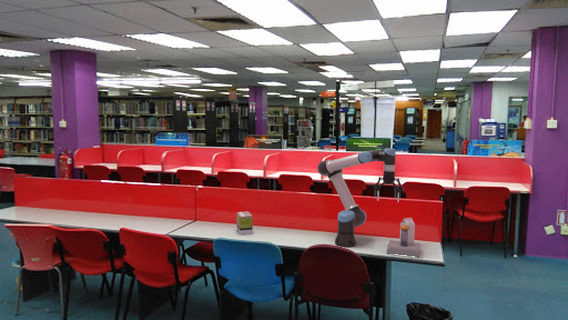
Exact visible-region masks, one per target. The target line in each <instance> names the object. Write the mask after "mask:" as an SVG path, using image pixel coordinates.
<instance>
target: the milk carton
mask: <svg viewBox="0 0 568 320" xmlns="http://www.w3.org/2000/svg"><path fill="white" fill-rule="evenodd" d="M401 225H407V226H409V227H410V229H409V230H408V242H411V243H415V234H416V233H415V231H416V224H415V222H414V220H413V217H406V218H403V220H402V221H401V222H400V226H401ZM399 230H400V231H399V233H400V234H399V241H401V229H399Z"/></svg>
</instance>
